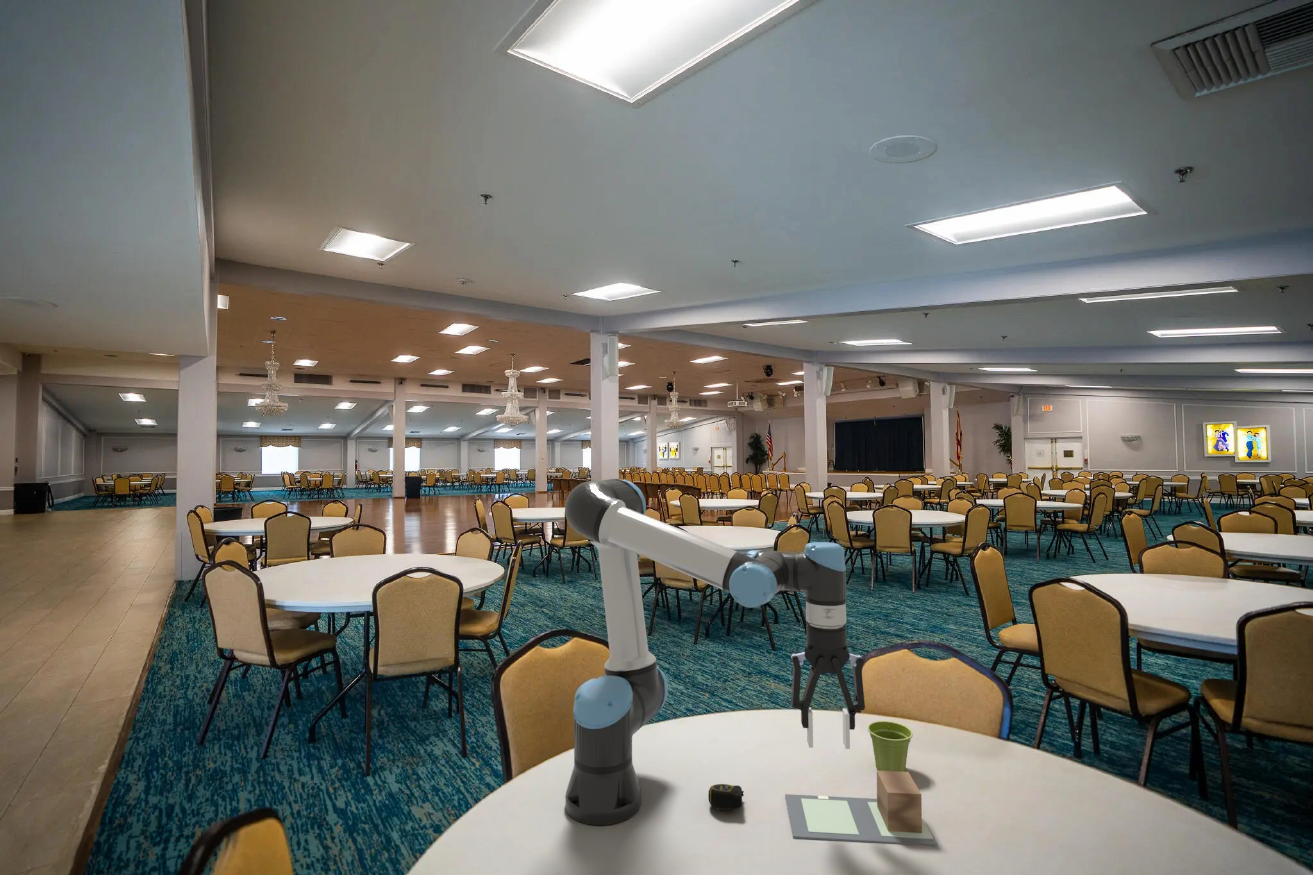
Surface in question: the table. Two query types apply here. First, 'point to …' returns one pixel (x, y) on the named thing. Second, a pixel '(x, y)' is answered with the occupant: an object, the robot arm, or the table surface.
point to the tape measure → (725, 796)
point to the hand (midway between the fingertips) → (828, 744)
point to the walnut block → (899, 801)
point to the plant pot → (890, 745)
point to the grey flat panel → (845, 821)
